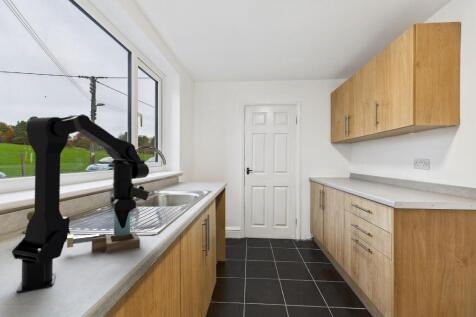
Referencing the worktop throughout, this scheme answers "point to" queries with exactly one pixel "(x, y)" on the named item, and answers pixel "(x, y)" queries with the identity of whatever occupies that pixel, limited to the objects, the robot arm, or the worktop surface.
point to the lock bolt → (79, 239)
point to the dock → (115, 243)
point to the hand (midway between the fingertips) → (122, 225)
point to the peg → (117, 228)
